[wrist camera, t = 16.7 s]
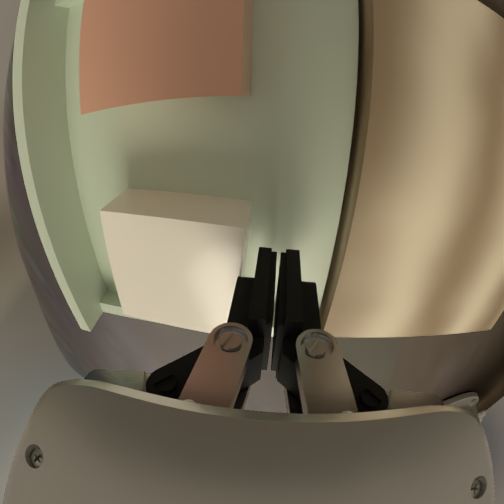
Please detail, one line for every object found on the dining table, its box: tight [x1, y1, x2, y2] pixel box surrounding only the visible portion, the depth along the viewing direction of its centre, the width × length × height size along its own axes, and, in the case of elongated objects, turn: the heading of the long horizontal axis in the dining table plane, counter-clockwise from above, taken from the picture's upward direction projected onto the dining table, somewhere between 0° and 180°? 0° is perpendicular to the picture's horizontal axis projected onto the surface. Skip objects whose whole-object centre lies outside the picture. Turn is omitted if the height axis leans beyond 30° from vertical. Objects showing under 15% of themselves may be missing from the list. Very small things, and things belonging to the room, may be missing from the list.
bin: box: [13, 0, 359, 337], centre depth 10 cm, size 14×19×5 cm
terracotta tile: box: [79, 0, 253, 115], centre depth 7 cm, size 6×6×2 cm
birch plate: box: [319, 0, 504, 337], centre depth 10 cm, size 14×19×3 cm
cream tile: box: [100, 188, 253, 333], centre depth 12 cm, size 6×6×2 cm
